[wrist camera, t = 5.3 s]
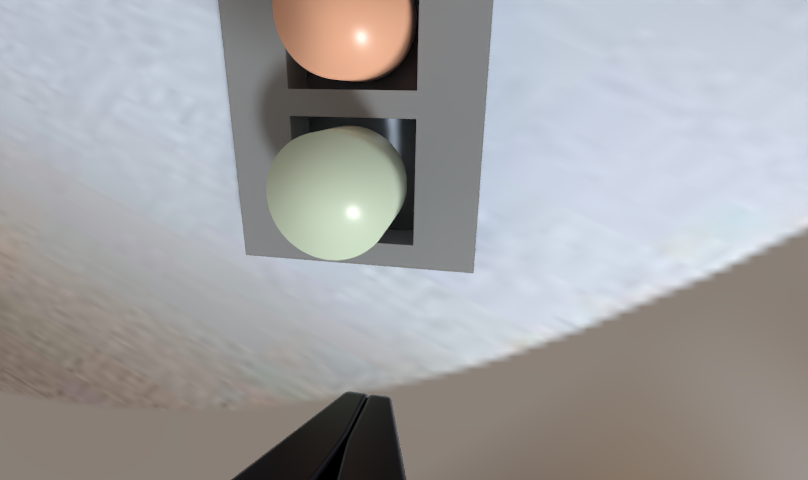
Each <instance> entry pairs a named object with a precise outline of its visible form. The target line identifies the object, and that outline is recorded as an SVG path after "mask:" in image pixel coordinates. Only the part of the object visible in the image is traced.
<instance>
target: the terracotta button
mask: <svg viewBox="0 0 808 480" xmlns="http://www.w3.org/2000/svg"><path fill="white" fill-rule="evenodd" d="M272 10H273V18H274V22H275V26H276V29H277V32H278V35H279V37H280V39H281V41H282V43H283V45H284V47H285V48H286V50H287V51H288V53H289V54H290V55H291V56H292V57H293V59H294V60H295V61H296V62H297V63H298V64H300V65H301V66H302V67H303V68H305V69H306V70H308V71H310V72H311V73H313V74H315V75H318V76H321V77H324V78H328V79H335V80H343V81H352V82H371V81H375V80H378V79H381V78H383V77H385V76H387V75H389V74H390V73H391V72H393V71H394V70H395V69H396V68H397V67H398V66H399V65H400V64H401V63H402V62H403V61H404V59H405V58H406V56H407V54H408V53H409V51H410V48H411V46H412V43H413V40H414V37H415V32H416V23H417V19H416V8H415V3H414V0H272Z"/></svg>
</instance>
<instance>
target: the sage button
mask: <svg viewBox="0 0 808 480" xmlns="http://www.w3.org/2000/svg"><path fill="white" fill-rule="evenodd" d="M406 193H407V176H406V170H405V167H404V164H403V161H402V159H401V157H400V155H399V154H398V152H397V150H396V149H395V148H394V147H393V145H392V144H391V143H390V142H389V141H388V140H387V139H385V138H384V137H383V136H381V135H380V134H378V133H376V132H375V131H373V130H370V129H368V128H364V127H360V126H341V127H336V128H331V129H326V130H322V131H317V132H312V133H308V134H305V135H302V136H299V137H297V138H295V139H293V140H292V141H291V142H289V143H288V144H286V145H285V146H284V147H283V148H282V149H281V150H280V152H279V153H278V154H277V156H276V157H275V159H274V161H273V162H272V164H271V167H270V170H269V173H268V177H267V184H266V196H267V203H268V207H269V211H270V213H271V216H272V218H273V220H274V222H275V224H276V226H277V228H278V229H279V230H280V232H281V233H282V234H283V236H284V237H285V238H286V239H287V240H288V241H289V242H290V243H291V244H293V245H294V246H295V247H297V248H298V249H299V250H301V251H303V252H305V253H306V254H309V255H311V256H314V257H317V258H320V259H325V260H346V259H350V258H354V257H356V256H359V255H361V254H363V253H364V252H366V251H368V250H369V249H370V248H371V247H373V246H374V245H375V244H376V243H377V242H378V241H379V239H380V238H381V237H382V235H383V234H384V232H385V231H386V230H387V228H388V227H389V226H390V224H391V223H392V221H393V220H394V219H395V217H396V216H397V214H398V213H399V212H400V210H401V208H402V206H403V203H404V201H405V197H406Z"/></svg>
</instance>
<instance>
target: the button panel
mask: <svg viewBox="0 0 808 480" xmlns="http://www.w3.org/2000/svg"><path fill="white" fill-rule="evenodd" d="M218 1H219V10H220V20H221V29H222V38H223V47H224V56H225V66H226V75H227V84H228V93H229V102H230V112H231V121H232V130H233V139H234V149H235V158H236V167H237V176H238V185H239V195H240V204H241V213H242V222H243V231H244V241H245V250H246V255H254V256H266V257H279V258H291V259H304V260H316V261H328V262H341V263H353V264H366V265H378V266H391V267H403V268H416V269H428V270H441V271H453V272H465V273H473V271H474V257H475V244H476V230H477V216H478V202H479V189H480V175H481V161H482V147H483V134H484V120H485V106H486V92H487V79H488V65H489V51H490V37H491V24H492V10H493V0H419V30H418V71H417V91H407V90H339V89H308V84H307V70H306V69H305V68H303V67H302V66H301V65H300V64H298V63H297V62H296V61H295V60H294V59H293V57H292V56H291V55H290V54H289V53H288V51H287V50H286V48H285V47H284V45H283V43H282V41H281V39H280V37H279V35H278V32H277V29H276V26H275V22H274V18H273V10H272V0H218ZM309 116H315V117H354V118H394V119H416V155H415V197H414V231H407V230H392V229H387V230H386V231H385V232H384V234H383V235H382V237H381V238H380V239H379V241H378V242H377V243H376V244H375V245H374V246H373V247H371V248H370V249H369V250H368V251H366V252H364V253H363V254H361V255H359V256H356V257H354V258H350V259H346V260H325V259H320V258H317V257H314V256H311V255H309V254H306V253H305V252H303V251H301V250H299V249H298V248H297V247H295V246H294V245H293V244H291V243H290V242H289V241H288V240H287V239H286V238H285V237H284V236H283V234H282V233H281V232H280V230H279V229H278V228H277V226H276V224H275V222H274V220H273V218H272V216H271V213H270V211H269V207H268V203H267V196H266V184H267V177H268V173H269V170H270V167H271V164H272V162H273V161H274V159H275V157H276V156H277V154H278V153H279V152H280V150H281V149H282V148H283V147H284V146H285V145H286V144H288V143H289V142H291V141H292V140H293V139H295V138H297V137H299V136H302V135H305V134H308V133H310V122H309Z"/></svg>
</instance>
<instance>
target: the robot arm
mask: <svg viewBox="0 0 808 480" xmlns="http://www.w3.org/2000/svg"><path fill="white" fill-rule="evenodd" d="M232 480H406V476H405V470H404V465H403V459H402V454H401V448H400V443H399V438H398V432H397V427H396V422H395V416H394V411H393V406H392V400H391V398H390V397H386V396H379V395H370V396H369V397H368V395H367V394H365V393H358V392H346V393H344V394H343V395H341V396H340V397H339V398H337V399H336V400H335V401H334V402H332V403H331V404H330V405H328V406H327V407H326V408H324V409H323V410H322V411H320V412H319V413H318V414H317V415H315V416H314V417H313V418H312V419H310V420H309V421H307V422H306V423H305V424H303V425H302V426H301V427H300V428H298V429H297V430H296V431H294V432H293V433H292V434H290V435H289V436H288V437H286V438H285V439H284V440H283V441H281V442H280V443H279V444H277V445H276V446H275V447H273V448H272V449H271V450H269V451H268V452H267V453H265V454H264V455H263V456H262V457H260V458H259V459H258V460H256V461H255V462H254V463H252V464H251V465H250V466H249V467H247V468H246V469H245V470H243V471H242V472H241V473H239V474H238V475H237V476H236V477H234V478H233V479H232Z"/></svg>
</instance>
